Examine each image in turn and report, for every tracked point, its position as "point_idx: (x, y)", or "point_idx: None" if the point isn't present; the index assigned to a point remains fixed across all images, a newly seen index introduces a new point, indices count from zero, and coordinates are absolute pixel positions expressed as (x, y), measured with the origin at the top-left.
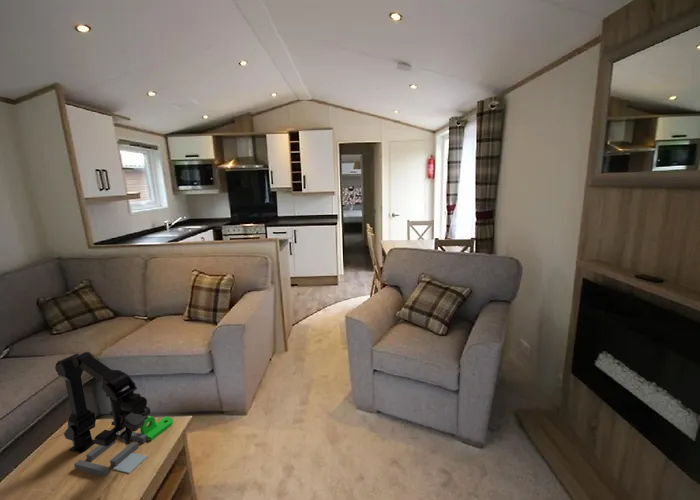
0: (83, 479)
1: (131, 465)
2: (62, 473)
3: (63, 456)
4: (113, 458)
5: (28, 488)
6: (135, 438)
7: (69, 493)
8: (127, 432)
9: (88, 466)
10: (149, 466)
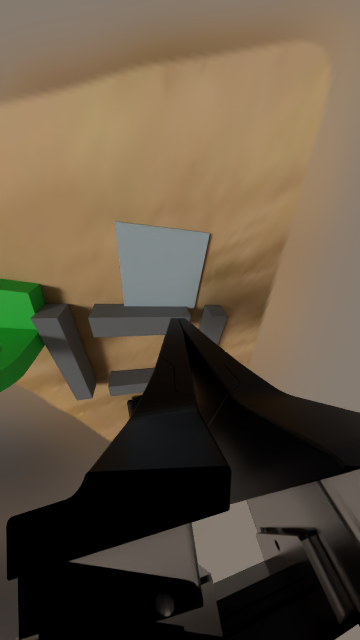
0: (222, 342)
1: (175, 258)
2: None
3: None
4: None
5: None
6: (74, 343)
7: (255, 335)
8: (333, 432)
9: None
10: (162, 151)
